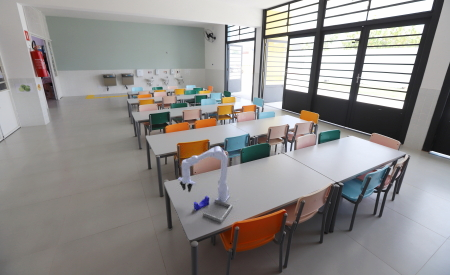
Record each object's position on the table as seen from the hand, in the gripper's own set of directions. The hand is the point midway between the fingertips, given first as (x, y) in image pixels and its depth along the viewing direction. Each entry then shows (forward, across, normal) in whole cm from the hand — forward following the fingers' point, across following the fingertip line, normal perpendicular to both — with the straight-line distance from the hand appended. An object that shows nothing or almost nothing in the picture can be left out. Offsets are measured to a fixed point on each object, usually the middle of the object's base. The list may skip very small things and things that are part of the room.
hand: (187, 190), depth 169 cm
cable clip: (+10, +13, 0) cm, 16 cm away
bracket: (+9, +27, 0) cm, 29 cm away
